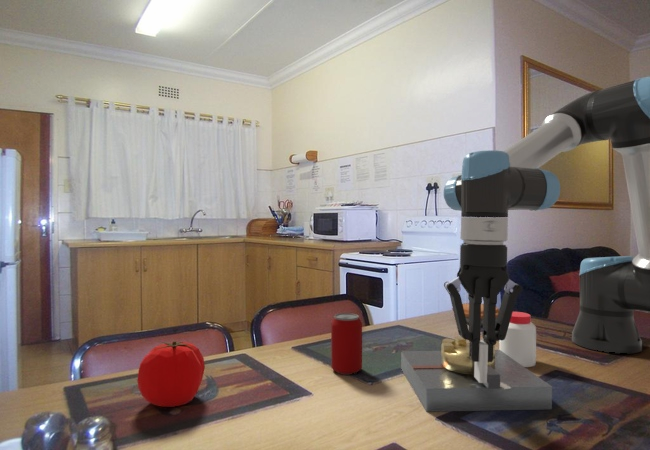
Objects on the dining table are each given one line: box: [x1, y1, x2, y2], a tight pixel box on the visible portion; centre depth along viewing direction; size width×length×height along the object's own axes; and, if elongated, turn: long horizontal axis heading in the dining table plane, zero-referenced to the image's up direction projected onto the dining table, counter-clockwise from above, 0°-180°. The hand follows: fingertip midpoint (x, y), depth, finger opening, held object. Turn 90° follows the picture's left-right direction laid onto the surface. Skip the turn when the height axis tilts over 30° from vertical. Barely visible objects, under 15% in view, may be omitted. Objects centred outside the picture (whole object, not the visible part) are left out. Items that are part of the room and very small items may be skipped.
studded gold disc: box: [440, 336, 500, 389], centre depth 78 cm, size 17×10×4 cm, turn 2°
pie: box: [451, 302, 500, 326], centre depth 135 cm, size 16×16×5 cm
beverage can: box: [330, 312, 363, 375], centre depth 91 cm, size 7×7×12 cm
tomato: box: [136, 340, 206, 408], centre depth 76 cm, size 12×12×11 cm
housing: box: [400, 349, 553, 413], centre depth 81 cm, size 22×21×4 cm
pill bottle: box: [498, 311, 537, 368], centre depth 96 cm, size 8×8×11 cm
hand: (480, 379), depth 71 cm, fingers closed
